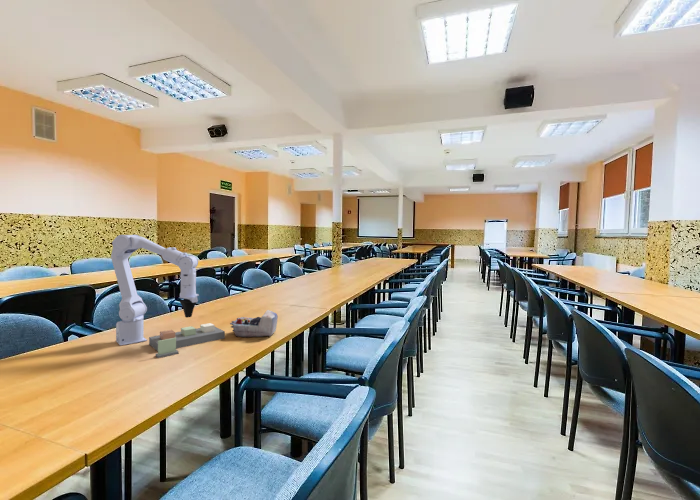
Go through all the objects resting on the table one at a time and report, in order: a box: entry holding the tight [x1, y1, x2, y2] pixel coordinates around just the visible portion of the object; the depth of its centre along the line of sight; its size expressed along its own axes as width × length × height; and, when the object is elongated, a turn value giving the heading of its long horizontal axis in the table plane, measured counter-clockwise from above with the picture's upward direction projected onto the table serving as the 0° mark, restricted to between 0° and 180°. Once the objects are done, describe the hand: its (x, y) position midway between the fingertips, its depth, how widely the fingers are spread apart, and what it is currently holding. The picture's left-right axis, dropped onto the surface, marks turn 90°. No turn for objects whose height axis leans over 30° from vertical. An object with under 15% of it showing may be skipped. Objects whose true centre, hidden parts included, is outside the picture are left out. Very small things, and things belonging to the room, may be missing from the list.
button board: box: [148, 326, 226, 352], centre depth 142 cm, size 26×12×3 cm, turn 135°
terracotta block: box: [159, 329, 176, 340], centre depth 136 cm, size 4×4×4 cm
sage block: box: [180, 325, 197, 337], centre depth 142 cm, size 4×4×4 cm
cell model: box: [229, 309, 279, 338], centre depth 154 cm, size 13×11×20 cm
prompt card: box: [155, 338, 179, 359], centre depth 126 cm, size 7×3×6 cm, turn 135°
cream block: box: [199, 322, 216, 333], centre depth 148 cm, size 4×4×4 cm
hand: (188, 316), depth 142 cm, fingers closed
